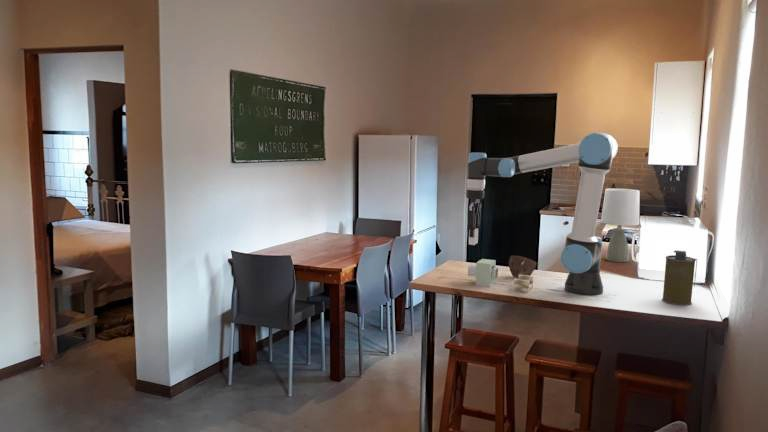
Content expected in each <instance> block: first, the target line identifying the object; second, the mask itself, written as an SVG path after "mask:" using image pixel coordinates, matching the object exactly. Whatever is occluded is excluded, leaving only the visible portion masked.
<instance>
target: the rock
mask: <svg viewBox="0 0 768 432" xmlns="http://www.w3.org/2000/svg"><path fill="white" fill-rule="evenodd" d="M537 264H538V262H536V261H535V260H533V259H531V258H527V257H525V256H520V255H510V256H509V259H508V264H507V265H508V267H509V272H510V273H511V275H512V277H513V278H515V279H518V276H519V274H520V275H529V276H532V274H533V272H534V271H535V269H536V267H537Z"/></svg>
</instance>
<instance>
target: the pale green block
mask: <svg viewBox="0 0 768 432" xmlns="http://www.w3.org/2000/svg"><path fill="white" fill-rule="evenodd" d="M496 261H497V260H496V259H488V258H487V259H486V258H481V259H479V260H478V261H477V262H476V264H475V265H476V277H475V286H478V287H480V286H481V287H487V286H489V287H491V286H492V285H493V284H495V282H496V281H495V280H496V279H491V267H494V268H496ZM489 287H488V288H489Z"/></svg>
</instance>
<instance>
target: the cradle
mask: <svg viewBox="0 0 768 432" xmlns="http://www.w3.org/2000/svg"><path fill="white" fill-rule="evenodd" d="M532 288H534V275H531V276H529V275H520V274H519V276H518V278H515V279H513V291H515V292H516V291H517V292H522V293H524V292H525V293H529V291H531V290H532Z"/></svg>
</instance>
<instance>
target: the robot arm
mask: <svg viewBox="0 0 768 432" xmlns="http://www.w3.org/2000/svg"><path fill="white" fill-rule="evenodd" d="M618 147H619V146H618V142H617V140H616V139H615V138H614V137H613V136H612V135H611V134H610V133H609V134H608V133H603V132H600V131H599V132H592V133H590V134H588V135H586V136H584V137H583V138H582V139H581V140H580V141H579V142H578V143H575V144H569V145H565V146H560V147H555V148H550V149H546V150H540V151H535V152H531V153H526V154H522V155H516V156H515V155H514V156H511V157H500V158H499V157H487V154H486V152H470V153H469V154H468V158H467V172H466V173H467V177H466V179H467V180H465V183H466V188H467V189H466V193H465V194H466V196H465V197H466V198H467V199H470V200H469V204H468V206H467V228H466V229H467V230H468V245H471V246H475V245H476V244H478V241H479V229H481V226H480V225H481V214H482V212H481V211H482V205H483V204H482V203H481V200H483V199H485V190H484V189H486V188H485V187H486V176H487V177H501V178H511V177H513V176H515V175H518V174H524V173H529V172H534V171H540V170H546V169H550V168H555V167H556V168H557V167H561V166H567V165H573V164H578V166H577V167H578V168H579V170H580V172H581V174H580V179H579V185H578V191H577V197H576V203H575V208H574V214H573V215H574V216H573V221H572V227H571V232H569V233H568V234H566V237H565V238H566V239H565V244H564V248H563V249H562V251H561V254H560V261H561V264H562V266H563V267H564V268H565V269H566V270H567V271H569V273H568V274H567V277H566V280H565V282H564V290H565V291H567V292H570V293H573V294H578V295H586V296H591V295H592V296H593V295H595V296H597V295H601V294H603V292H604V285H603V281H602V277H601V275H600V274H601V273H600V272H601V260H602V248H603V239H602V238H601V237H600V236H595V235H596V234H595V233H596V229H597V222H598V217H599V211H600V205H601V200H602V194H603V189H604V182H605V176H606V175H607V173H609V172H610V171H611V168H612V163H613V162H612V161H613V159H614V158H615V157H616V155H617V152H618V150H619V148H618Z"/></svg>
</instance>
